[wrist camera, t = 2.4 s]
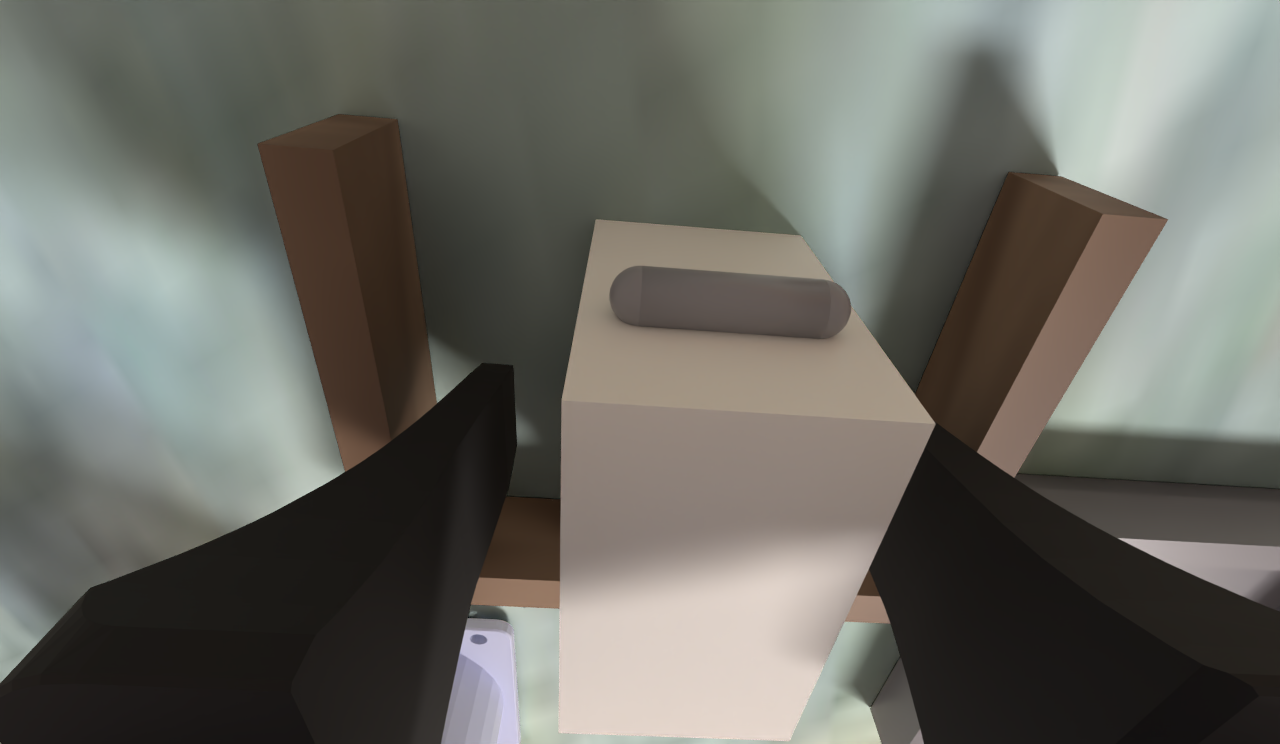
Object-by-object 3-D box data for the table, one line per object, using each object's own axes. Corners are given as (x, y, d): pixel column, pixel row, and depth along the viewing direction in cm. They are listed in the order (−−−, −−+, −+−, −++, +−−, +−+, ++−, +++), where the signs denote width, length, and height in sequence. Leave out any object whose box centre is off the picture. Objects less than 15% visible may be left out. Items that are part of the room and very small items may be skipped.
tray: (870, 708, 21) (890, 770, 19) (1007, 473, 14) (1056, 534, 13) (1146, 719, 21) (1190, 780, 20) (1395, 496, 15) (1491, 558, 13)
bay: (415, 518, 15) (379, 600, 13) (338, 113, 10) (257, 143, 8) (888, 543, 16) (926, 625, 14) (1061, 176, 10) (1167, 219, 8)
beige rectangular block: (585, 483, 15) (558, 732, 10) (597, 181, 11) (561, 342, 6) (737, 492, 15) (789, 741, 10) (809, 198, 11) (961, 369, 6)
